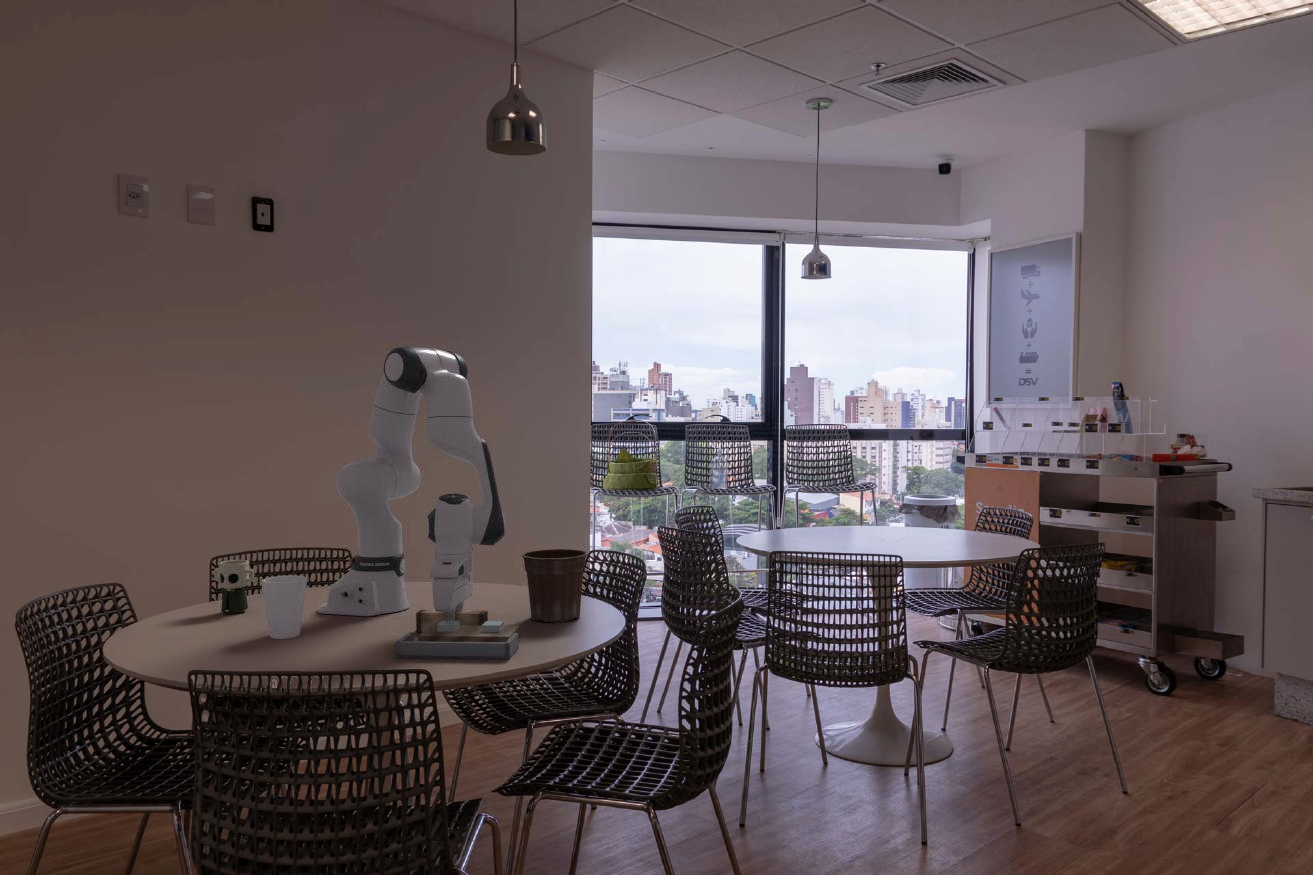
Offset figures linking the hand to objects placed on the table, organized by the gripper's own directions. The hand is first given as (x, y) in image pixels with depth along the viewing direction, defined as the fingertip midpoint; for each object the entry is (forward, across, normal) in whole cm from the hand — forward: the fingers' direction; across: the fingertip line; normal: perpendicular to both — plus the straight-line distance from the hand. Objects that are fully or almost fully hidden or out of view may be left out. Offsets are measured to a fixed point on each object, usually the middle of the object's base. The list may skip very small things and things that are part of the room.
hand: (454, 623), depth 216 cm
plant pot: (+2, -15, +21) cm, 26 cm away
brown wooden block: (+2, 0, -1) cm, 2 cm away
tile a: (-1, +9, +1) cm, 9 cm away
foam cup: (+2, +6, -38) cm, 38 cm away
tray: (+2, +19, +6) cm, 20 cm away
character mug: (+2, -17, -62) cm, 64 cm away
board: (+2, +10, +6) cm, 12 cm away
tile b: (-1, +9, +11) cm, 14 cm away
